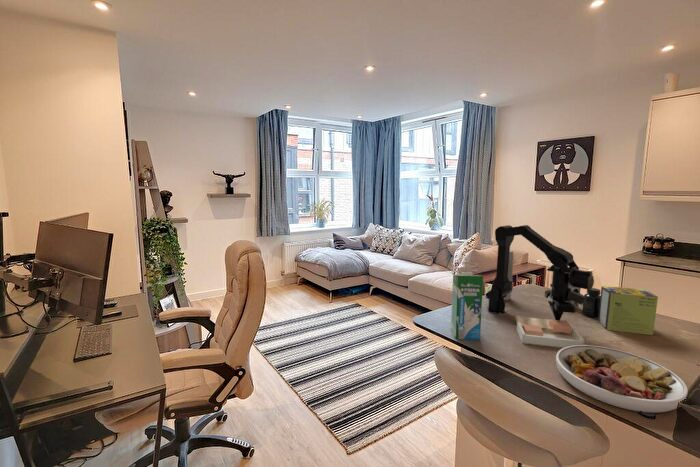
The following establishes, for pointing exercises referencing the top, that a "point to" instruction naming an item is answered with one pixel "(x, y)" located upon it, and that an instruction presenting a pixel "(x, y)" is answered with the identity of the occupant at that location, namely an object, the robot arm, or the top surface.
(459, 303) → the milk carton
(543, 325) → the oak board
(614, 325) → the protein box
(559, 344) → the tray
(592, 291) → the supplement bottle
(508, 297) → the water bottle
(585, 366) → the bowl
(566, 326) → the tile
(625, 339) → the top surface
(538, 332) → the tile
